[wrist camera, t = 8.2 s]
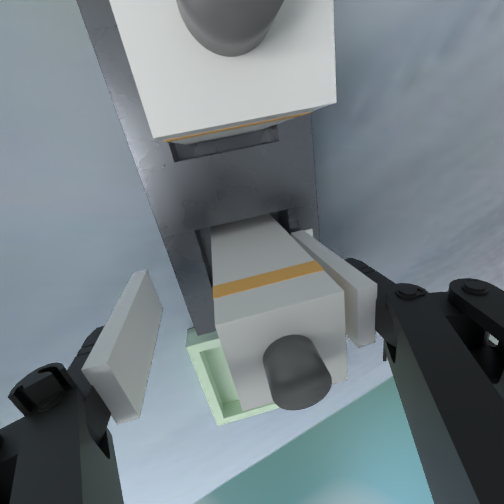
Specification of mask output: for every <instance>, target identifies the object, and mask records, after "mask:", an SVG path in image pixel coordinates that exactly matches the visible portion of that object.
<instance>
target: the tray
mask: <svg viewBox="0 0 504 504" xmlns="http://www.w3.org/2000/svg"><path fill="white" fill-rule="evenodd" d="M186 349H187V351H188V354H189V356H190V359H191V362H192V364H193V367H194V369H195V372H196V374H197V377H198V379H199V382H200V384H201V387H202V389H203V392H204V394H205V397H206V399H207V402H208V404H209V407H210V409H211V412H212V414H213V417H214V419H215V422H216V424H217V426H220V425H224V424H227V423H230V422H234V421H237V420H241V419H244V418H247V417H251V416H254V415H257V414H261V413H264V412H268V411H271V410H274V409H278V408H280V407H278V406H277V405H276V404H275V403H274V402H272V403H269V404H266V405H262V406H259V407H256V408H252V409H249V410H246V411H243V410H242V407H241V404H240V401H239V398H238V395H237V392H236V389H235V386H234V383H233V380H232V376H231V373H230V370H229V367H228V364H227V361H226V358H225V355H224V352H223V349H222V346H221V343H220V340H219V337H218V334H217V331H215V332H211V333H207V334H203V335H200V336H197V333H196V330H195V328H191V329H188V331H187V341H186Z"/></svg>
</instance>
